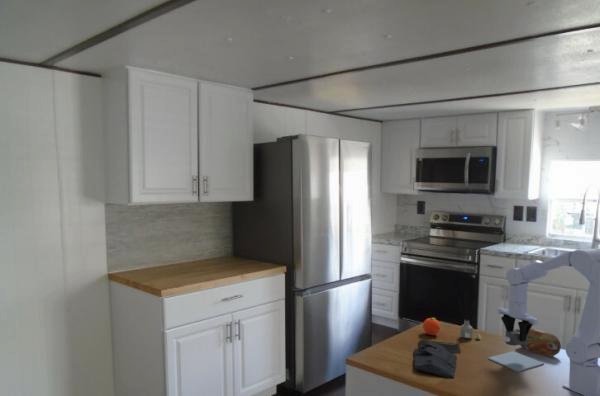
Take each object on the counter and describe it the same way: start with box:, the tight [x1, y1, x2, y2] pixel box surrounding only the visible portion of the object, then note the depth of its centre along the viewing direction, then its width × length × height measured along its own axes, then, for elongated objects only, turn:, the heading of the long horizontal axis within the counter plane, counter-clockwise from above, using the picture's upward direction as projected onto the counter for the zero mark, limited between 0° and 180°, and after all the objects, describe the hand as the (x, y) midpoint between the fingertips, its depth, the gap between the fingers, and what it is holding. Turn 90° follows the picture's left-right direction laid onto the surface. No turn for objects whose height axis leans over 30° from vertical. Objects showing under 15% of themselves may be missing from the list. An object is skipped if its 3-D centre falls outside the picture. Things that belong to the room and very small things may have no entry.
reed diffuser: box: [456, 289, 482, 340], centre depth 178 cm, size 10×7×20 cm
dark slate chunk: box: [413, 340, 458, 379], centre depth 152 cm, size 15×22×5 cm
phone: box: [418, 339, 461, 354], centre depth 167 cm, size 8×1×15 cm
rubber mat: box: [487, 350, 545, 373], centre depth 154 cm, size 12×14×1 cm
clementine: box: [422, 317, 441, 336], centre depth 181 cm, size 8×7×7 cm
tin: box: [519, 327, 562, 358], centre depth 163 cm, size 15×3×8 cm, turn 37°
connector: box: [501, 328, 528, 346], centre depth 153 cm, size 4×10×4 cm, turn 110°
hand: (516, 338), depth 154 cm, fingers closed on connector, 4 cm apart
